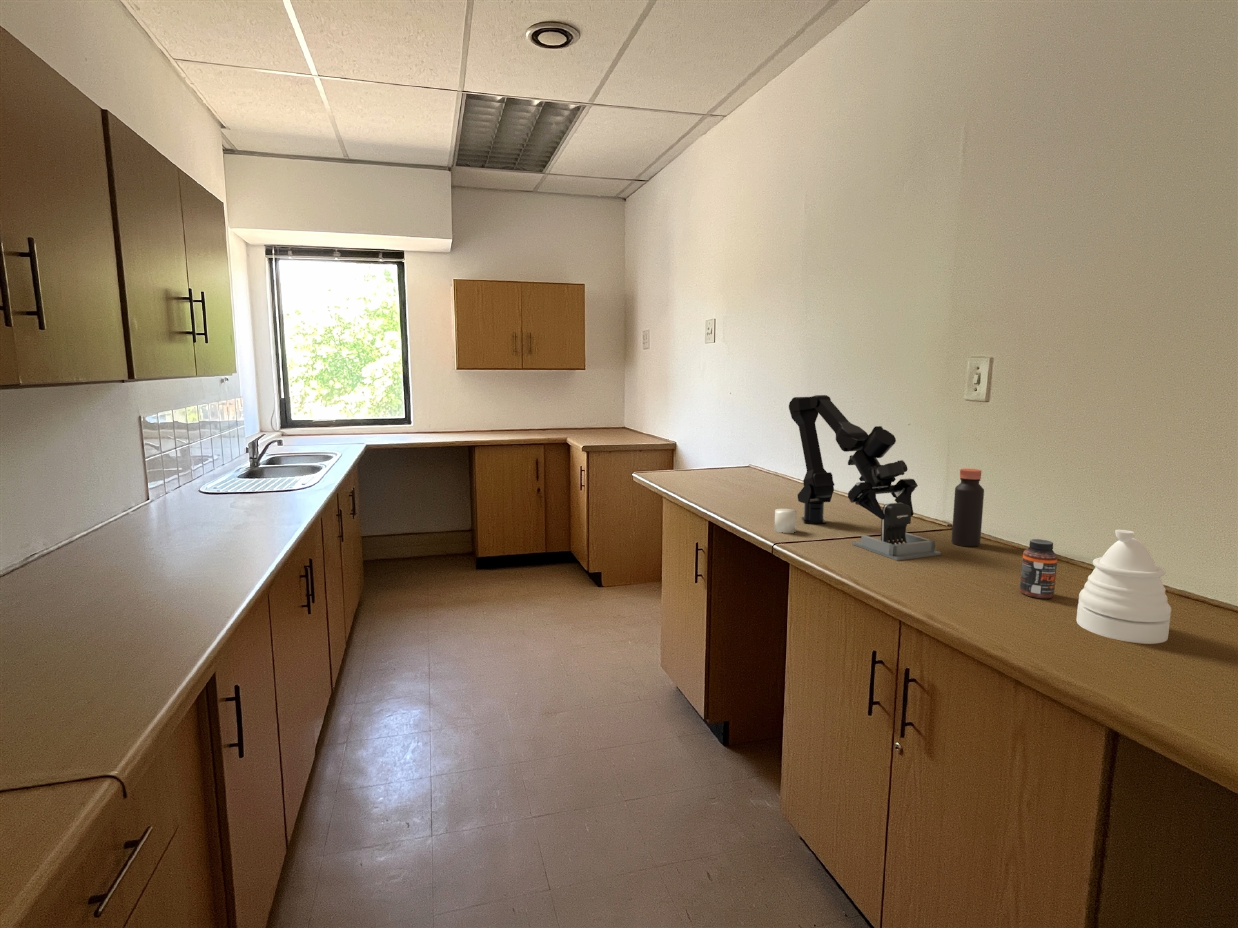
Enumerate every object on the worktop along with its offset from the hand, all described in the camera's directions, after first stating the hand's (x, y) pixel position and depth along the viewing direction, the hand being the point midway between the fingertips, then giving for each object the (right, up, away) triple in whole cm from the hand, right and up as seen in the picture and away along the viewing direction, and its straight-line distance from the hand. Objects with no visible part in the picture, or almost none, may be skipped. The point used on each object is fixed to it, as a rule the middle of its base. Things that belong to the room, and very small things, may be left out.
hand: (898, 517), depth 163 cm
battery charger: (0, -8, +2) cm, 8 cm away
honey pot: (+18, -16, -50) cm, 55 cm away
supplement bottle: (+14, -13, -33) cm, 38 cm away
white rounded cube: (-23, -6, +22) cm, 32 cm away
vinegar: (+21, -8, +7) cm, 23 cm away
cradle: (0, -9, +1) cm, 9 cm away
